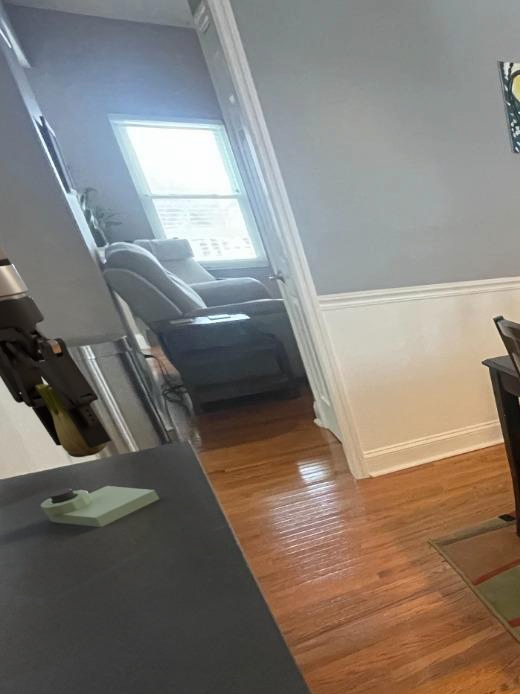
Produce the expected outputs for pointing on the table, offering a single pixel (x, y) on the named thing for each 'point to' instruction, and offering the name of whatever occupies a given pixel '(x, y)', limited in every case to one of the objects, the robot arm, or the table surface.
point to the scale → (98, 505)
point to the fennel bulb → (66, 425)
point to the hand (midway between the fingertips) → (83, 442)
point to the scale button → (62, 495)
